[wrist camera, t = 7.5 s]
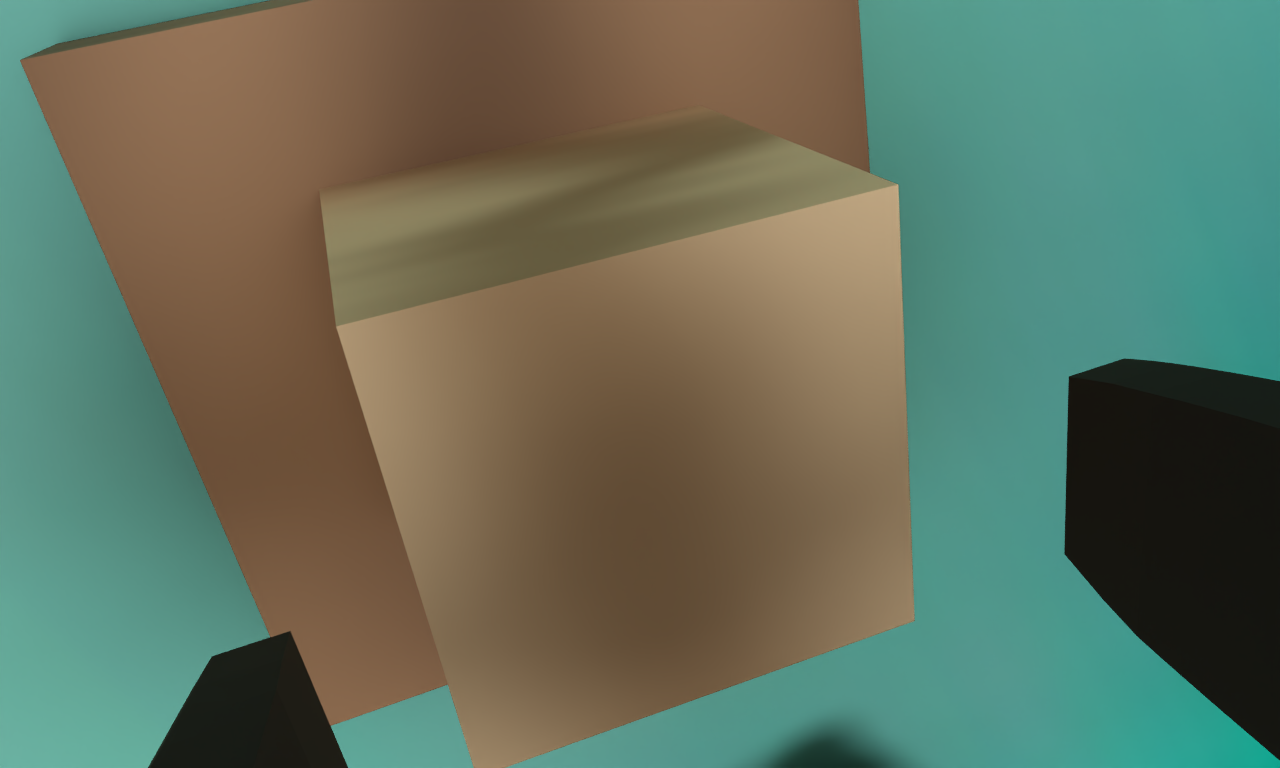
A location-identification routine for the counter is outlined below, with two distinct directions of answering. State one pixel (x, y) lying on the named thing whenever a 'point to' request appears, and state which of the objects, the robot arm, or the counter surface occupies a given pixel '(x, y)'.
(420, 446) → the maple cube
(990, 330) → the counter surface
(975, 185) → the counter surface
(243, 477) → the walnut base
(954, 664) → the counter surface
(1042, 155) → the counter surface
